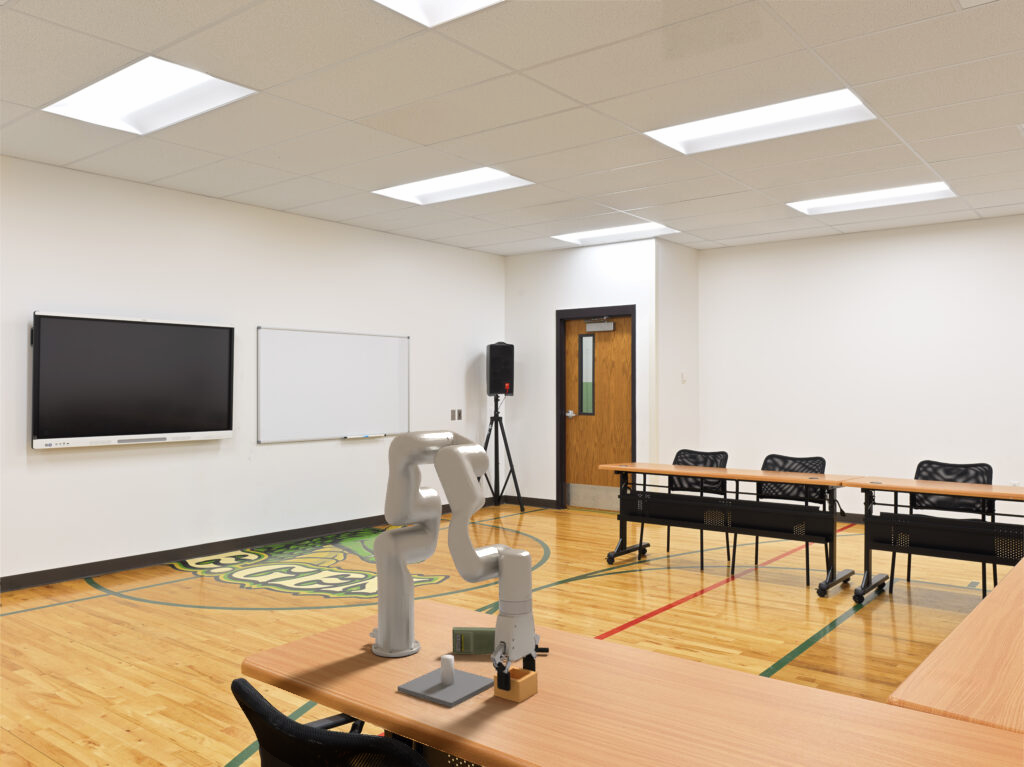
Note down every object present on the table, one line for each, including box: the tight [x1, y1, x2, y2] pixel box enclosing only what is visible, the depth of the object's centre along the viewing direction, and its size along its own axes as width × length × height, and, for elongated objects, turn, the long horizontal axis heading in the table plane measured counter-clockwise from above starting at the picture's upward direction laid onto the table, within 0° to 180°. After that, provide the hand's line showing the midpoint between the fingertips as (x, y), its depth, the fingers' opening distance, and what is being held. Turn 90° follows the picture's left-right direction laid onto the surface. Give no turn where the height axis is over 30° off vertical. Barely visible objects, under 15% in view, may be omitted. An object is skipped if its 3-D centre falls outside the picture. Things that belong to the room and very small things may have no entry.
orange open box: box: [493, 665, 539, 703], centre depth 174 cm, size 7×7×4 cm
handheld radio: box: [451, 626, 550, 655], centre depth 201 cm, size 7×3×25 cm
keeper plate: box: [397, 654, 494, 709], centre depth 178 cm, size 16×16×7 cm
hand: (516, 682), depth 174 cm, fingers open, 9 cm apart
